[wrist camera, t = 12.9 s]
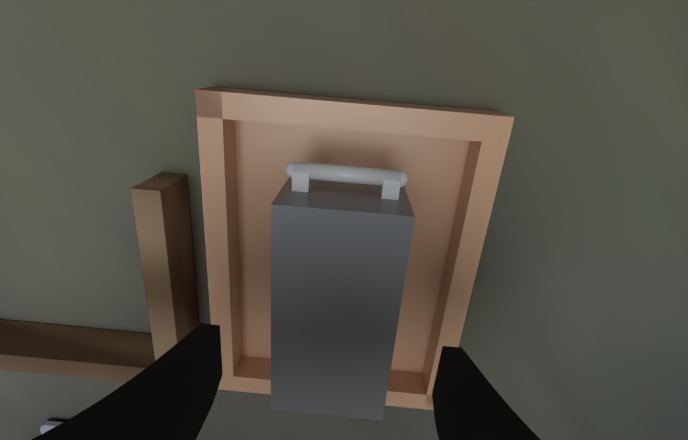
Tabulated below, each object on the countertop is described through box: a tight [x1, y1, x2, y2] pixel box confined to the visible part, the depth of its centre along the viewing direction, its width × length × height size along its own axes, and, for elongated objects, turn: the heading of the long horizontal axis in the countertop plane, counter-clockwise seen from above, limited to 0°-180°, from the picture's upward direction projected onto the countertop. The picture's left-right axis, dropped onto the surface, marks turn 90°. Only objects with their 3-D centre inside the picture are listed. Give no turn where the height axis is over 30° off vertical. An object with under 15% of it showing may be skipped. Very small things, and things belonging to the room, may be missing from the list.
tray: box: [195, 87, 514, 410], centre depth 18 cm, size 15×12×2 cm
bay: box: [0, 172, 199, 381], centre depth 19 cm, size 10×13×2 cm
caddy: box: [271, 161, 415, 421], centre depth 16 cm, size 10×5×5 cm, turn 176°
